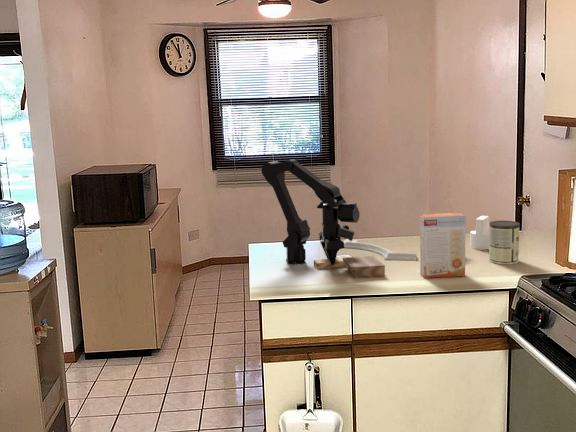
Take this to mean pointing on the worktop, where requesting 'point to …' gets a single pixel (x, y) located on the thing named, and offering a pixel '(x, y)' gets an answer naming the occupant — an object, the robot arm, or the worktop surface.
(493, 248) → the coffee can
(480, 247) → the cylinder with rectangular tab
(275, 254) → the worktop surface
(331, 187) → the robot arm
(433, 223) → the cracker box
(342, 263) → the oak plank
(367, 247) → the molding
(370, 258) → the laid planks
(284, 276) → the worktop surface
